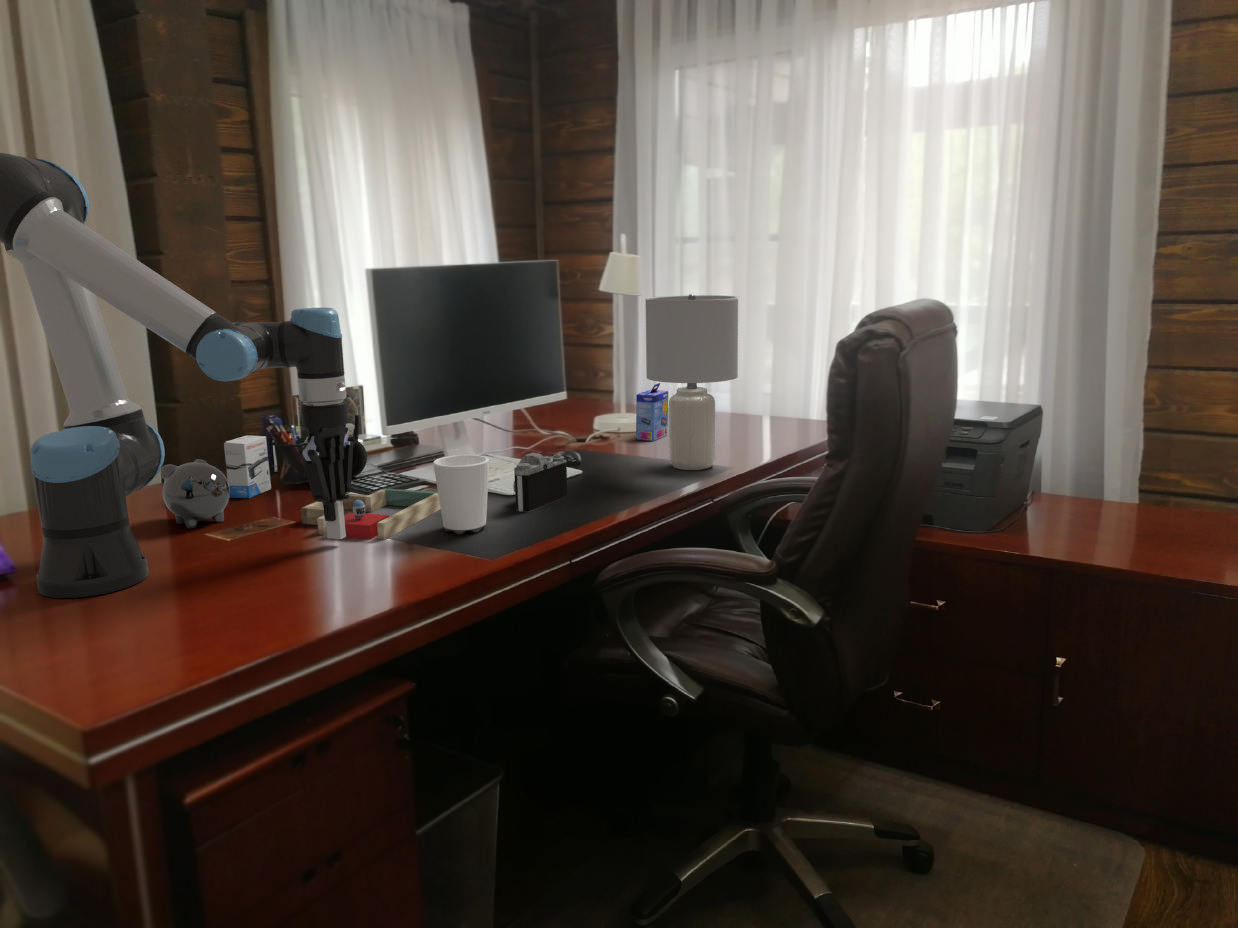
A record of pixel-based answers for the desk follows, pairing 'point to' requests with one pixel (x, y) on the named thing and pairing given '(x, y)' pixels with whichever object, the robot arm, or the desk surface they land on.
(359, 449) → the headphones
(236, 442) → the ink box
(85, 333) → the robot arm
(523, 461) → the camera
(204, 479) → the piggy bank
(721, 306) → the lamp
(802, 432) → the desk surface
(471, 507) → the cup
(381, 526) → the channel
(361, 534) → the red rectangular block
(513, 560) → the desk surface
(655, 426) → the ink cartridge box
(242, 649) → the desk surface
